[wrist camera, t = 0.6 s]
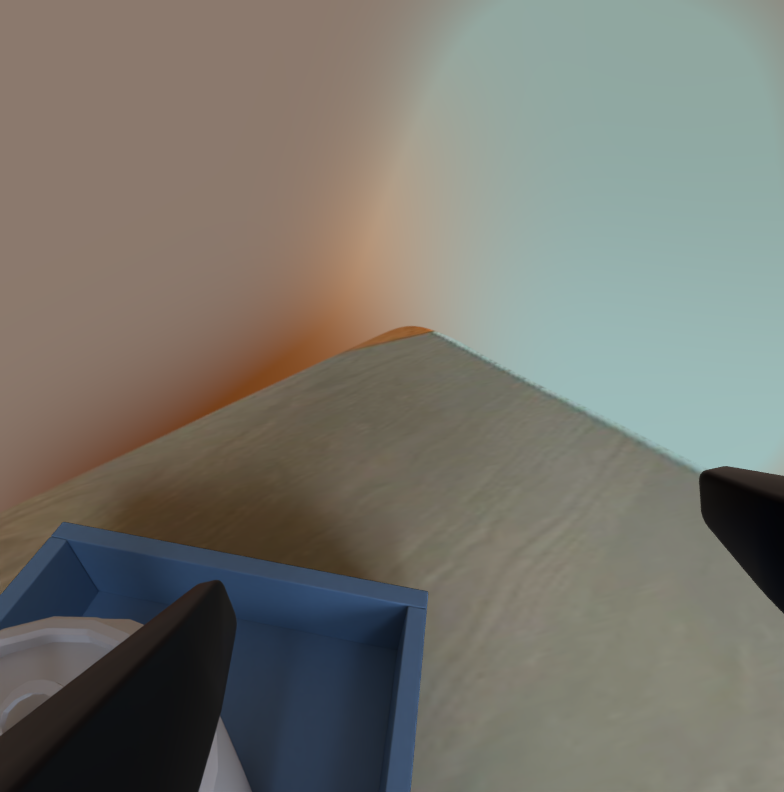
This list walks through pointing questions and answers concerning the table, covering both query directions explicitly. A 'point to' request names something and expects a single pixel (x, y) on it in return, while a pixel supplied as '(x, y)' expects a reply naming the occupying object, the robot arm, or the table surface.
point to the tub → (263, 651)
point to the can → (65, 660)
